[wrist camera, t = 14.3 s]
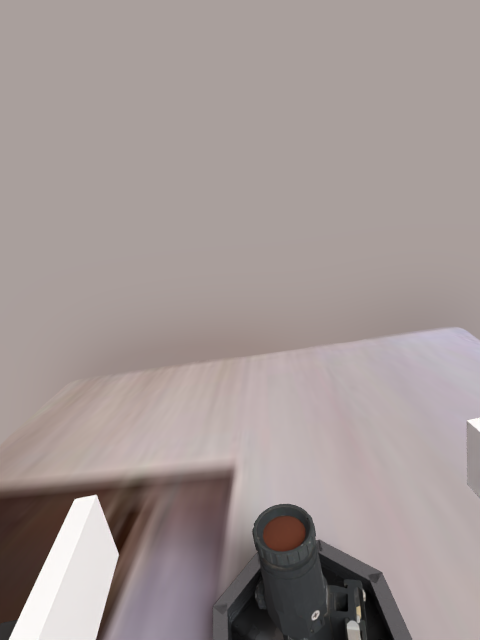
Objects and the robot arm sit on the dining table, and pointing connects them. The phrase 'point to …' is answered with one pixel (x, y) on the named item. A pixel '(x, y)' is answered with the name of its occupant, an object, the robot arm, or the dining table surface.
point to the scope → (303, 581)
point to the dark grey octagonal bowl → (380, 607)
